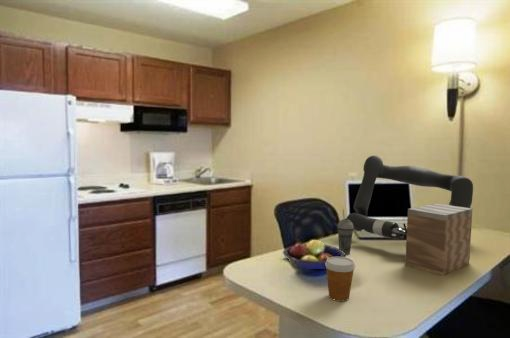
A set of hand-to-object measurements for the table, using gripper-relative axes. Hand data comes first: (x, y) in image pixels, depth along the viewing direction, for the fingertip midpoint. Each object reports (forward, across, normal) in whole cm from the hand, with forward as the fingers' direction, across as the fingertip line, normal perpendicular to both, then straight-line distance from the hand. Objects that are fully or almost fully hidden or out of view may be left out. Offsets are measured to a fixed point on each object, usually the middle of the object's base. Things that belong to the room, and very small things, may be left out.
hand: (421, 237), depth 157 cm
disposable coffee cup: (+4, -58, +10) cm, 59 cm away
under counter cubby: (+7, 0, +10) cm, 12 cm away
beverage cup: (-24, -20, +10) cm, 33 cm away
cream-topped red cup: (-3, 0, +7) cm, 8 cm away
